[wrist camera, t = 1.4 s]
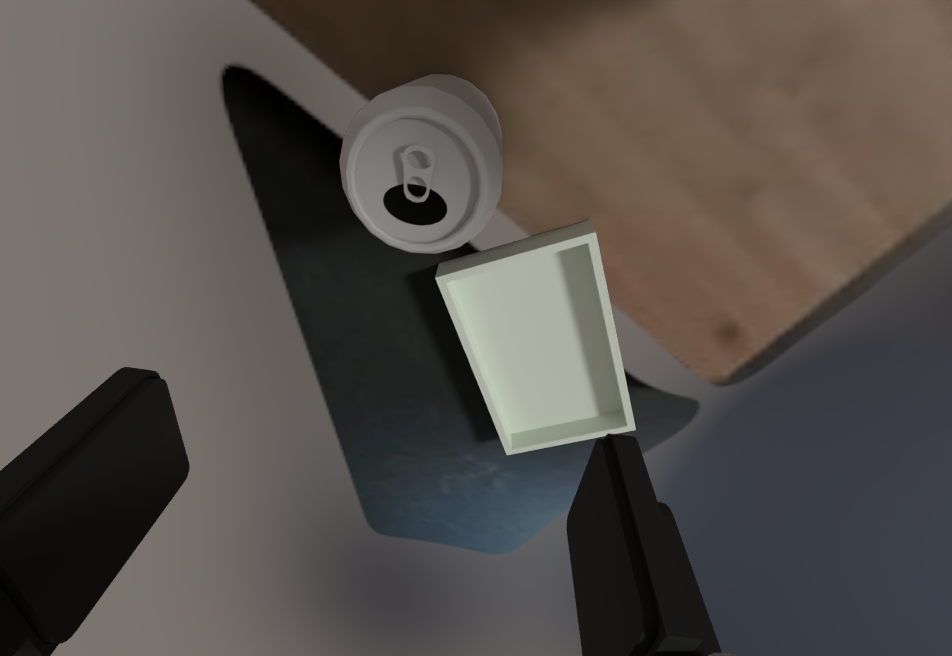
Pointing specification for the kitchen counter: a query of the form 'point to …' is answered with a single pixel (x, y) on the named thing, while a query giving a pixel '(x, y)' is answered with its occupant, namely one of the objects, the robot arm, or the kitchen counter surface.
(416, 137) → the can
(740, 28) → the kitchen counter surface
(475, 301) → the tray
